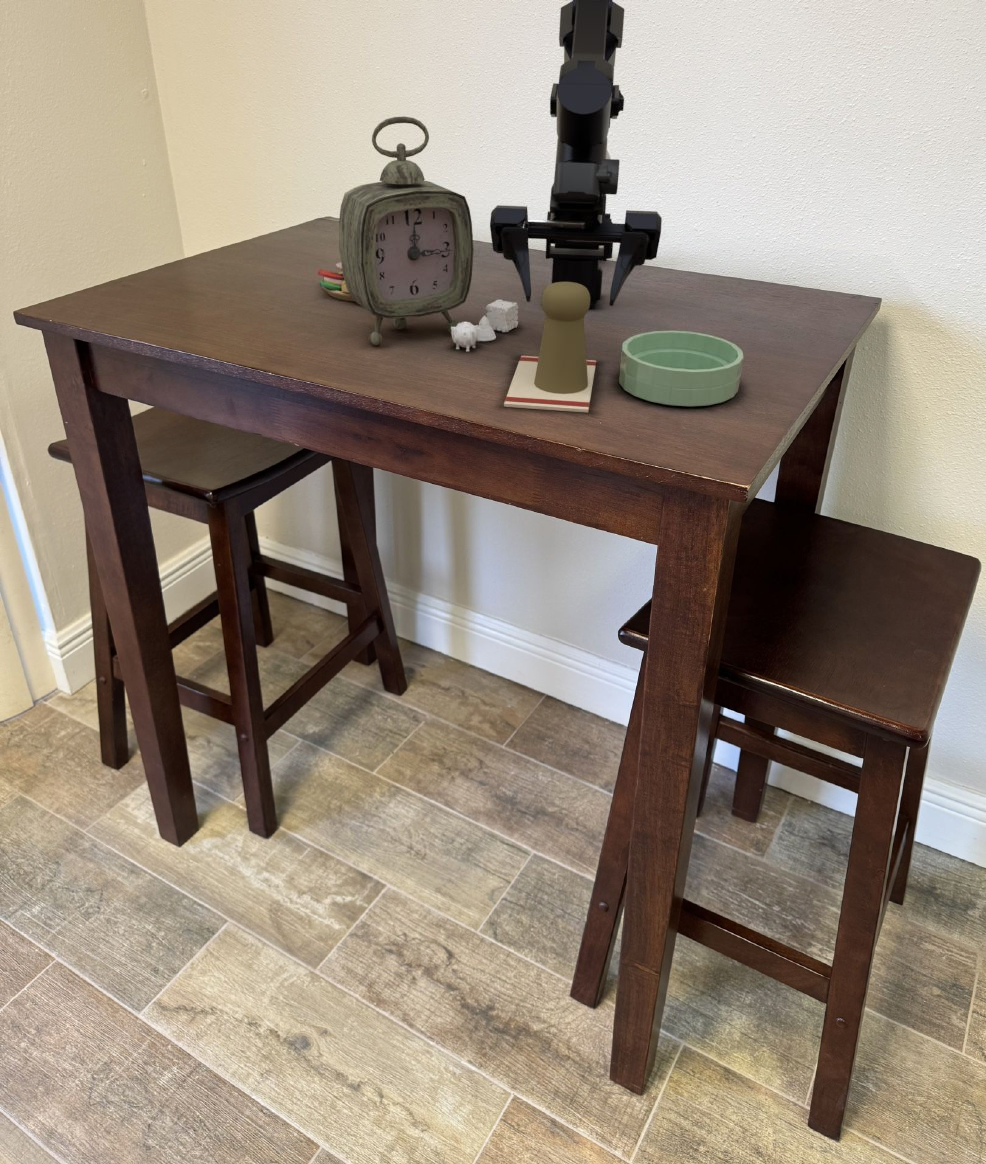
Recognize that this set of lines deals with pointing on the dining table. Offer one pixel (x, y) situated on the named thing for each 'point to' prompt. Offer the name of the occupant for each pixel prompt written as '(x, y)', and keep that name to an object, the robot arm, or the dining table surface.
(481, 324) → the game pieces
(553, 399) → the towel
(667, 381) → the bowl
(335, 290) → the toy food set
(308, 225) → the dining table surface
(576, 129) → the robot arm
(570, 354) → the cork
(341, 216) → the tabletop clock
